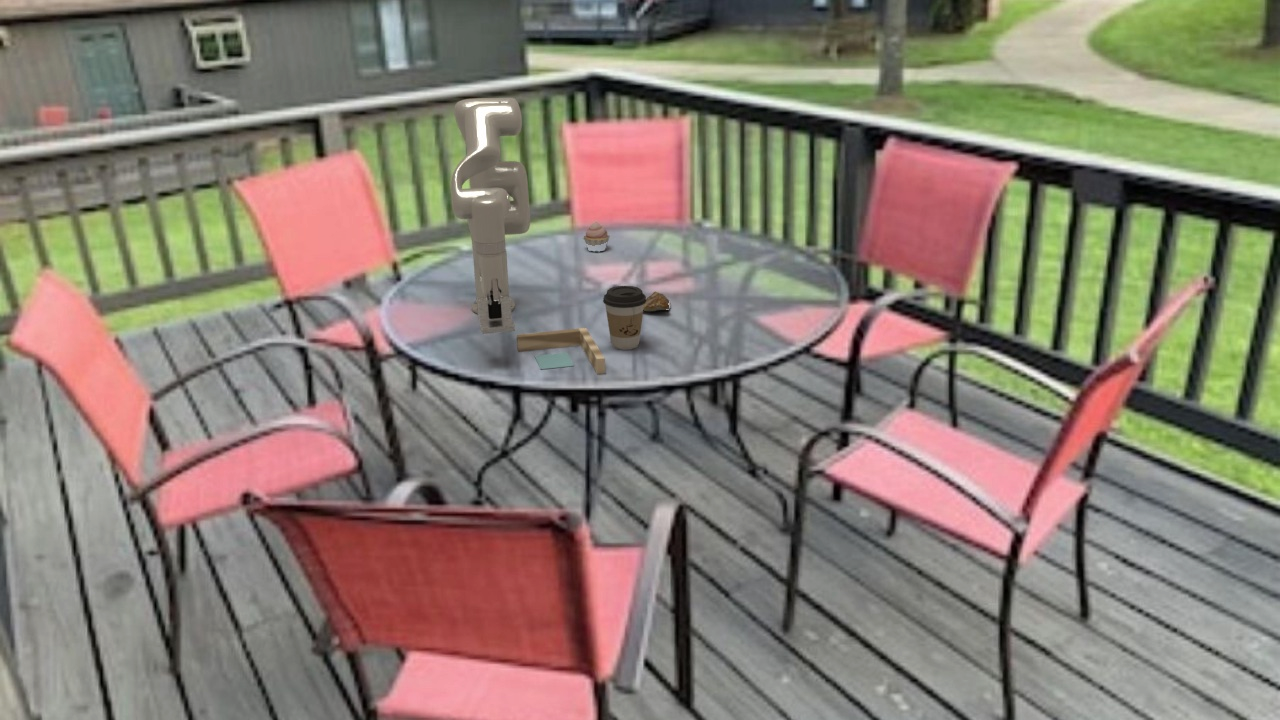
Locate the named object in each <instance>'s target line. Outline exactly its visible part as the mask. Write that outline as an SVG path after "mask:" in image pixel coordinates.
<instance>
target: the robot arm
mask: <svg viewBox="0 0 1280 720" xmlns="http://www.w3.org/2000/svg"><path fill="white" fill-rule="evenodd" d="M454 117H455V121H456V124H457V127H458V129H459V131H460V133H461V136H462V137H463V139H464V142H465V145H466V155H465V156H464V157H463V158H462V159H461V160H460V162H459V163H458V164H457V165H456V167H455V169H454V171H453V172H452V176H451V179H450V194H451V196H450V197H451V208H452V212H453V214H454V216H455V217H456V218H457V219H459V220H467V224H468V230H469V233H470V238H471V247H472V256H473V257H472V258H473V269H474V270H473V271H474V283H475V295H476V296H475V298H476V301H474V302H473V303H472V304H471V311H472V312H473V313H475V314H477V315H478V301H477V298H481V297H489V304H488V311H489V319H497V318H502V311H501V303H500V296H502V295H509V296H510V288H509V272H508V271H509V270H508V269H509V268H508V255H507V254H508V253H507V245H506V236H508V235H509V236H511V235H512V236H513V235H522V234H526V233H527V232H528V231H529V229H530V226H531V214H530V199H529V198H530V197H529V185H528V184H529V183H528V175H527V170H526V167H525V165H524V164H522V162H519V161H517V160H514V161H513V160H508V161H507V160H506V161H505V160H504V161H501V146H500V137H512V136H513V137H514V136H517V135H518V136H519V134H520V133H521V130H522V125H523V116H522V110H521V107H520V105H519V102H518V101H517V99H515V98H514V97H481V98H480V97H478V98H466V99H462V100H458V101H457V102H456V103H455V104H454ZM467 180H469V185H470V186H469V187H470V188H463V185H464V184H465V183H466V181H467ZM511 199H513V200H511ZM510 301H511V312H513V311H514V310H515V309H516V303H515V301H514V300H512V299H510ZM514 308H515V309H514Z"/></svg>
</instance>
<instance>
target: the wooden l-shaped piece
mask: <svg viewBox="0 0 1280 720" xmlns="http://www.w3.org/2000/svg"><path fill="white" fill-rule="evenodd" d="M576 346H580V347H581V348H582V350H583V352H584V353H585V356H586V357H587V359H588V361H589V362H590V364H591V366H592V368H593V369H594V371H595V373H596V374H597V375H603V374H606V358H605V356H604V355H603V353H602V351H601V350H600V348H599V347H598V345H597V344H596V341H595V340H594V338H593V337H592V335H591V334H590V332H589V331H588V329H587V328H586V327H580V328H578V327H577V328H570V329H569V328H568V329H559V330H551V331H550V330H549V331H540V332H532V333H521V334H516V347H517V351H518V352H526V351H528V352H529V351H537V350H539V351H540V350H548V349H549V350H550V349H557V348H565V347H566V348H567V347H576Z"/></svg>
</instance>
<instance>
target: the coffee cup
mask: <svg viewBox="0 0 1280 720" xmlns="http://www.w3.org/2000/svg"><path fill="white" fill-rule="evenodd" d="M646 299H647V296H646V294H644V293H643V290H642V289H641V288H640V287H638V286H634V285H618V286H616V285H615V286H613V287H610V288H609V289H607V291H606V294H604V295H603V300H602V302H603V304H604V305H605V309H606V310H605V312H606V318H607V323H608V325H607V326H608V331H609V337H610V338H609V339H610V343H611V346H612V348H614V349H616V350H621V351H622V350H623V351H628V350H634V349H636V348H637V347H639V343H640V339H641V332H642V324H643V323H642V322H643V314H644V311H643V308H644V303H646Z"/></svg>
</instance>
